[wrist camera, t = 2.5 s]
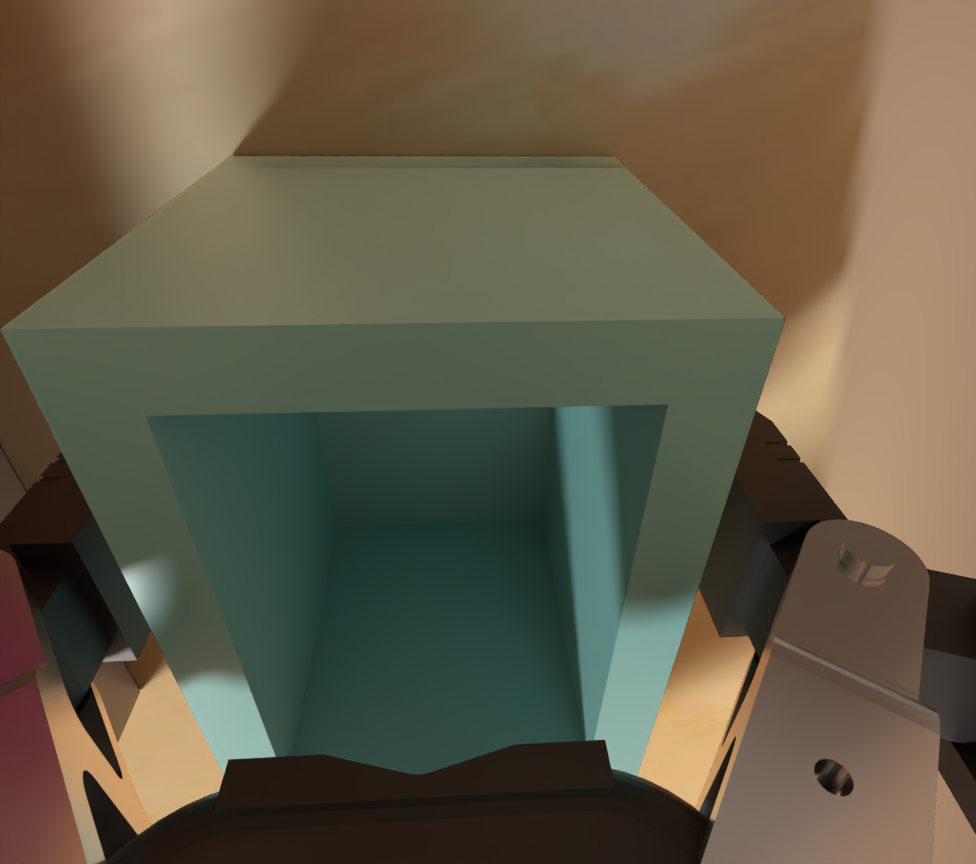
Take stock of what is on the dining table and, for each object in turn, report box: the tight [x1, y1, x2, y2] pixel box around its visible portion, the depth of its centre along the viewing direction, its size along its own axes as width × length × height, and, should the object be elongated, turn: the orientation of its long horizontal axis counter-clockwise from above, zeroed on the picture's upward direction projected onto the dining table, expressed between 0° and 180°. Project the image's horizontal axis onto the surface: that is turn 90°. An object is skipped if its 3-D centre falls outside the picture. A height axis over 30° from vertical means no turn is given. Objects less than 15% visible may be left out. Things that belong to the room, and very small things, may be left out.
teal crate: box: [0, 156, 786, 776], centre depth 9 cm, size 8×6×6 cm
